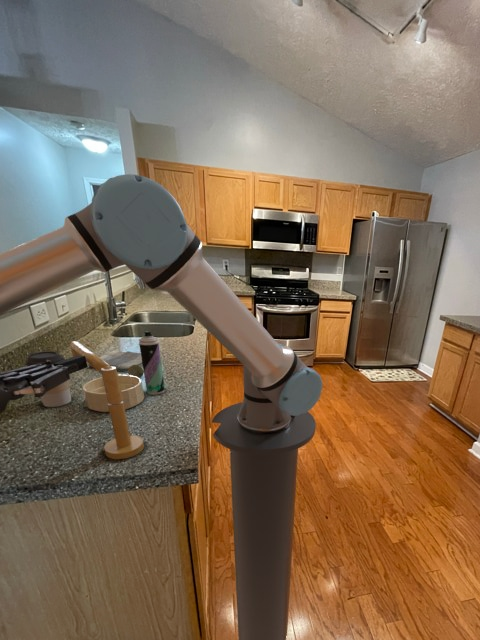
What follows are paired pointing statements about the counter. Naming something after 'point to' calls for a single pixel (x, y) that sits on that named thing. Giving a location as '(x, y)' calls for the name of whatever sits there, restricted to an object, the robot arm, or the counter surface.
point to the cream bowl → (128, 387)
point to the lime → (136, 371)
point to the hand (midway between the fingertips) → (83, 361)
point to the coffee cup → (59, 393)
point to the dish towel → (122, 359)
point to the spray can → (151, 364)
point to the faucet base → (122, 435)
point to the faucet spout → (105, 369)
